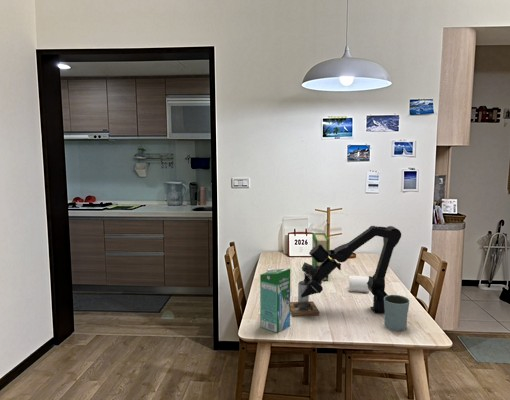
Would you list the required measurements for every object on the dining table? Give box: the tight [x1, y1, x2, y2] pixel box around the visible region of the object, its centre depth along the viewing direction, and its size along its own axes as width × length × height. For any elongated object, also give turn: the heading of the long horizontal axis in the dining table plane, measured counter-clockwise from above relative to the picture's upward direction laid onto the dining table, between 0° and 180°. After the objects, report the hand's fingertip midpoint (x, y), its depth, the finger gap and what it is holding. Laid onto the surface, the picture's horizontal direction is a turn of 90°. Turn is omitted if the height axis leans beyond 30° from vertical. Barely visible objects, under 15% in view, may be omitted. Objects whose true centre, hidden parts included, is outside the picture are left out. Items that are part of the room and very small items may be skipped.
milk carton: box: [259, 267, 291, 334], centre depth 166 cm, size 9×9×25 cm
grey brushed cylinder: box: [297, 280, 310, 310], centre depth 183 cm, size 5×5×14 cm
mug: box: [348, 275, 370, 293], centre depth 211 cm, size 12×10×8 cm
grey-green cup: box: [384, 294, 410, 332], centre depth 167 cm, size 10×10×12 cm
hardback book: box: [311, 232, 330, 282], centre depth 233 cm, size 18×7×24 cm, turn 177°
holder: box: [290, 300, 320, 318], centre depth 184 cm, size 12×12×2 cm
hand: (300, 292), depth 183 cm, fingers open, 9 cm apart
